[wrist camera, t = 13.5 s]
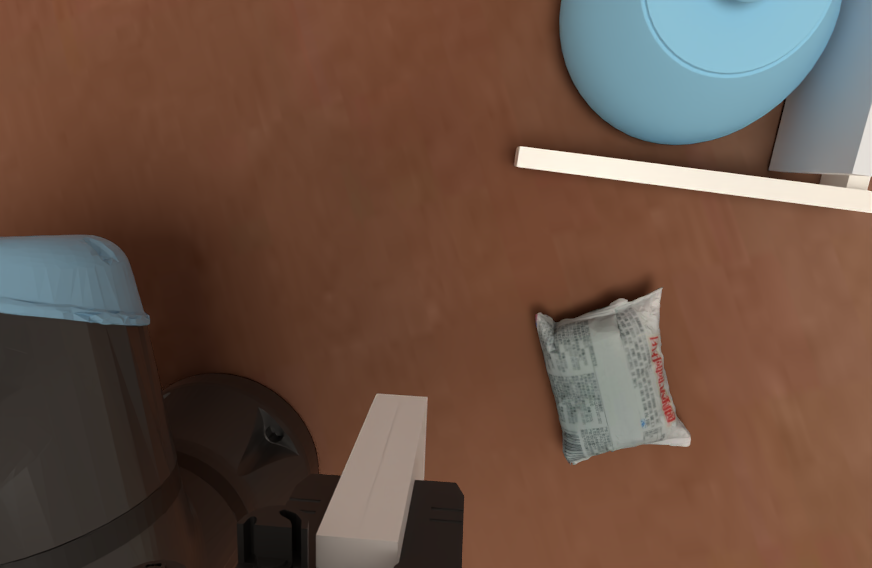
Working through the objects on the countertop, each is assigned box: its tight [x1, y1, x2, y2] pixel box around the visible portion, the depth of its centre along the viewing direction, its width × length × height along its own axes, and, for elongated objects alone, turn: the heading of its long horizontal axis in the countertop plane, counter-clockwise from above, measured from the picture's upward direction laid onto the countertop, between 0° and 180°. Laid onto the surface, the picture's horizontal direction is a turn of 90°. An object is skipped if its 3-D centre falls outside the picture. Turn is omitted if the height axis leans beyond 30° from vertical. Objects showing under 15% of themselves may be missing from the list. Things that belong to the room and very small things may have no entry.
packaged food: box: [535, 287, 691, 465], centre depth 40 cm, size 9×12×5 cm
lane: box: [514, 146, 872, 213], centre depth 34 cm, size 21×20×5 cm
